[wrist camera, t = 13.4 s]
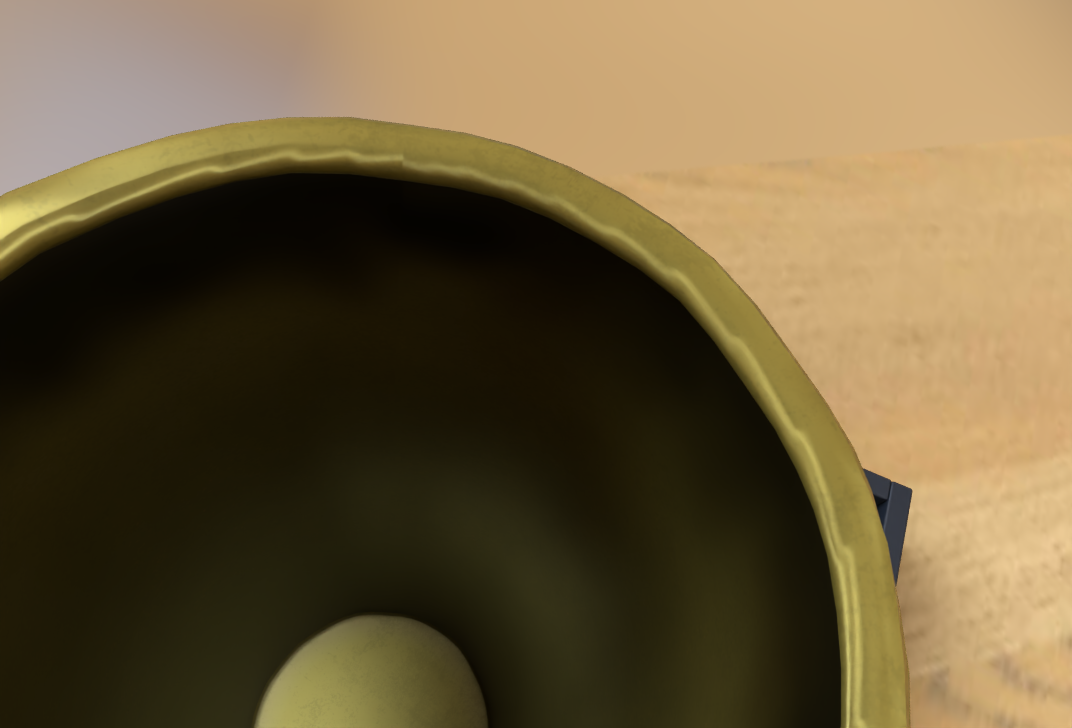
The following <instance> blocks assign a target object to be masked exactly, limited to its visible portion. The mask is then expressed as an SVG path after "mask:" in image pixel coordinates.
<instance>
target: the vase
mask: <svg viewBox="0 0 1072 728" xmlns="http://www.w3.org/2000/svg"><path fill="white" fill-rule="evenodd" d="M0 728H910V682H909V668H908V661H907V654H906V647H905V640H904V634H903V627H902V620H901V613H900V607H899V602H898V596H897V591H896V586H895V580H894V575H893V570H892V564H891V559H890V554H889V548H888V543H887V540H886V537H885V534H884V531H883V528H882V524H881V521H880V517H879V514H878V510H877V507H876V503H875V500H874V496H873V493H872V490H871V487H870V485H869V483H868V480H867V478H866V475H865V473H864V471H863V468H862V466H861V464H860V461H859V459H858V457H857V454H856V452H855V450H854V447H853V446H852V444H851V442H850V441H849V439H848V437H847V436H846V434H845V432H844V431H843V429H842V427H841V426H840V424H839V422H838V421H837V419H836V417H835V416H834V414H833V412H832V411H831V409H830V407H829V406H828V404H827V403H826V401H825V400H824V398H823V397H822V395H821V394H820V393H819V391H818V390H817V388H816V387H815V386H814V384H813V383H812V381H811V380H810V379H809V377H808V376H807V374H806V373H805V371H804V370H803V369H802V367H801V366H800V364H799V363H798V362H797V360H796V359H795V357H794V356H793V354H792V353H791V352H790V350H789V349H788V348H787V346H786V345H785V343H784V342H783V341H782V339H781V338H780V337H779V335H778V334H777V332H776V331H775V330H774V328H773V327H772V326H771V324H770V323H769V321H768V320H767V319H766V317H765V316H764V315H763V313H762V312H761V310H760V309H759V308H758V306H757V305H756V304H755V303H754V302H753V301H752V299H751V298H750V297H749V296H748V295H747V294H746V293H745V292H744V291H743V290H742V289H741V287H740V286H739V285H738V284H737V283H736V282H735V281H734V280H733V279H732V278H731V277H730V275H729V274H728V273H727V272H726V271H725V270H724V269H723V268H722V267H721V266H720V265H719V263H718V262H717V261H716V260H715V259H714V258H712V257H711V256H710V255H709V254H707V253H706V252H705V251H704V250H702V249H701V248H700V247H699V246H697V245H696V244H695V243H693V242H692V241H691V240H690V239H688V238H687V237H686V236H685V235H683V234H682V233H681V232H679V231H678V230H677V229H676V228H674V227H673V226H672V225H671V224H669V223H667V222H666V221H664V220H663V219H661V218H660V217H658V216H657V215H655V214H653V213H652V212H650V211H649V210H647V209H646V208H644V207H642V206H641V205H639V204H638V203H636V202H635V201H633V200H632V199H630V198H628V197H627V196H625V195H624V194H622V193H620V192H618V191H616V190H614V189H612V188H610V187H608V186H606V185H604V184H602V183H600V182H598V181H596V180H595V179H593V178H591V177H589V176H587V175H585V174H583V173H581V172H579V171H577V170H575V169H573V168H571V167H569V166H566V165H564V164H561V163H558V162H556V161H553V160H551V159H548V158H546V157H543V156H541V155H538V154H536V153H533V152H531V151H528V150H526V149H523V148H520V147H518V146H514V145H511V144H507V143H502V142H499V141H495V140H491V139H487V138H483V137H479V136H475V135H472V134H467V133H463V132H456V131H449V130H441V129H434V128H428V127H421V126H414V125H406V124H399V123H392V122H384V121H376V120H368V119H360V118H352V117H292V118H291V117H289V118H288V117H287V118H278V119H268V120H259V121H250V122H240V123H231V124H225V125H221V126H215V127H211V128H206V129H201V130H196V131H191V132H186V133H181V134H176V135H171V136H168V137H165V138H162V139H158V140H155V141H151V142H148V143H145V144H141V145H138V146H135V147H131V148H128V149H125V150H121V151H118V152H115V153H112V154H108V155H105V156H102V157H98V158H96V159H93V160H90V161H88V162H85V163H83V164H80V165H77V166H74V167H72V168H70V169H67V170H64V171H62V172H59V173H56V174H54V175H51V176H48V177H46V178H43V179H41V180H38V181H36V182H33V183H31V184H28V185H25V186H22V187H20V188H17V189H15V190H12V191H10V192H7V193H5V194H3V195H2V196H0Z"/></svg>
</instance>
